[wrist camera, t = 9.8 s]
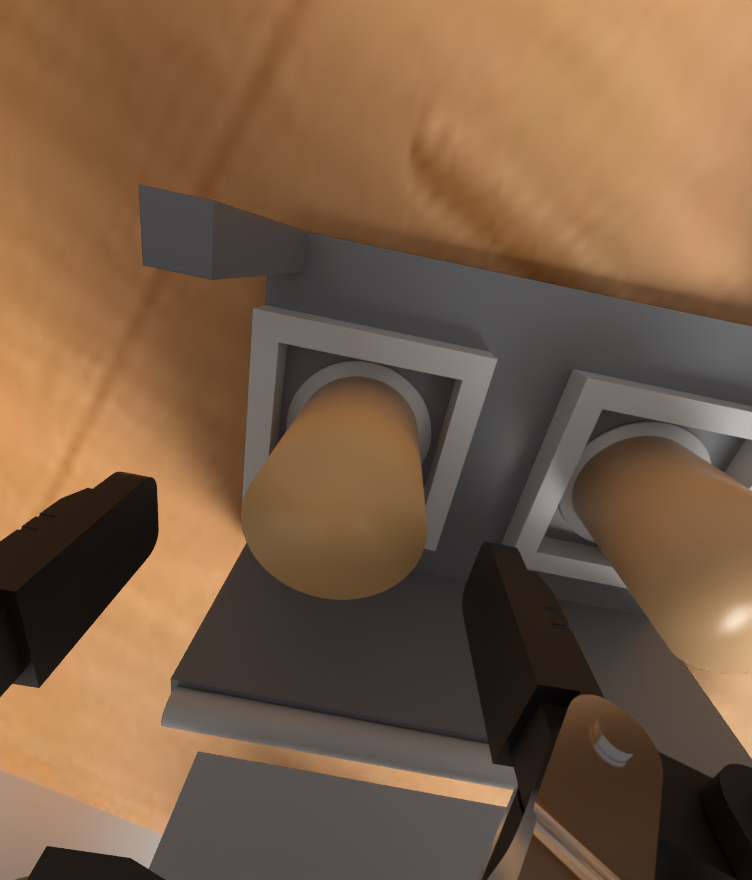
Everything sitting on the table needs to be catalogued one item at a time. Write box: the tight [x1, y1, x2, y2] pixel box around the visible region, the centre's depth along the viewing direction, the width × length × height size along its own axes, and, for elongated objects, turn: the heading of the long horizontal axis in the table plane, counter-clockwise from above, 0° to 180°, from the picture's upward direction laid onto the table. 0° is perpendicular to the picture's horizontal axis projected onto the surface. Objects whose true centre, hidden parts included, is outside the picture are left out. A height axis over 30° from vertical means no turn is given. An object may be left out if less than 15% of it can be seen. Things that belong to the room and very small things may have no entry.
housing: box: [139, 185, 752, 790], centre depth 13 cm, size 19×14×8 cm
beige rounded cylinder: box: [241, 376, 427, 600], centre depth 12 cm, size 5×5×6 cm
